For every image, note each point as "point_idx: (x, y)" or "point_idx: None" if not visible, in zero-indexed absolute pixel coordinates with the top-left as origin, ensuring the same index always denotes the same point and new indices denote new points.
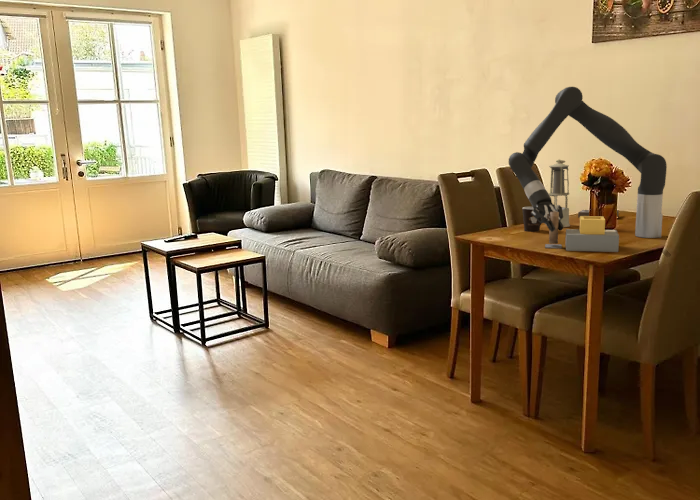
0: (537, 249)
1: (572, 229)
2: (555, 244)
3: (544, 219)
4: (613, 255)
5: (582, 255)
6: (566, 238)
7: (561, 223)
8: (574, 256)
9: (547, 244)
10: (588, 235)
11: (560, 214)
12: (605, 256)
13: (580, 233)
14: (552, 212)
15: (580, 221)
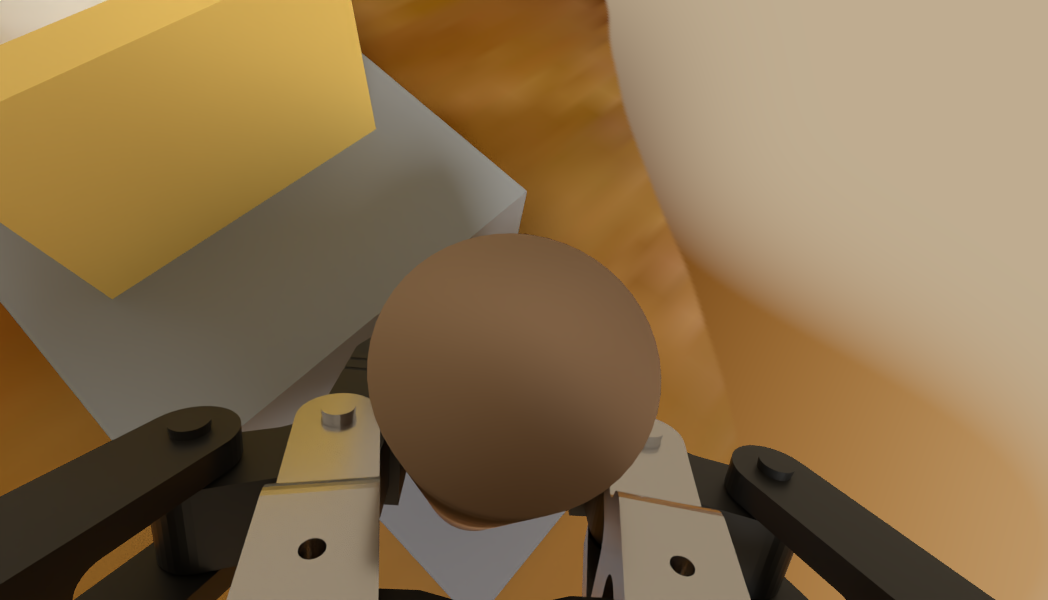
0: None
1: (113, 407)
2: (397, 524)
3: (768, 449)
4: (371, 9)
5: (537, 109)
6: (520, 218)
7: (355, 370)
8: (606, 120)
9: (471, 583)
10: (363, 56)
11: (144, 483)
12: (438, 21)
13: (371, 123)
14: (637, 323)
15: (293, 20)
